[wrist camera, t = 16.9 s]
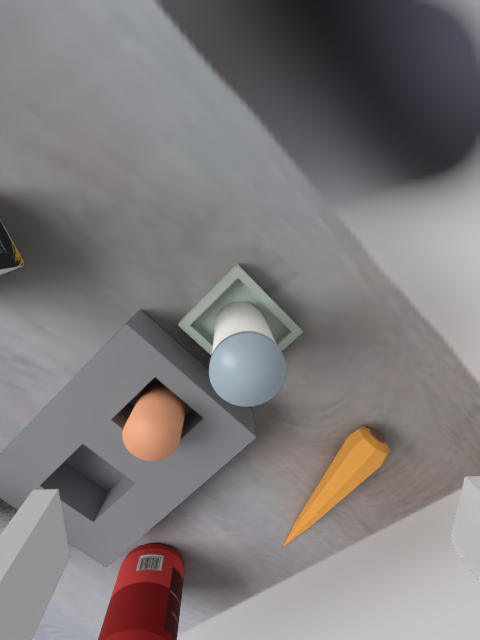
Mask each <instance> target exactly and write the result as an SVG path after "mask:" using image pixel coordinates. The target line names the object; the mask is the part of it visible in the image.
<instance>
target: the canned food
mask: <svg viewBox="0 0 480 640" xmlns="http://www.w3.org/2000/svg"><path fill="white" fill-rule="evenodd" d="M183 580H184V565H183V560H182V558H181V556H180V554H179V553H178V552H177V551H176V550H175V549H173V548H171V547H169V546H166V545H163V544H146V545H142V546H139V547H137V548H135V549H134V550H132V551H131V552H130V553H129V554H128V555H127V557H126V558H125V560H124V562H123V563H122V565H121V568H120V571H119V574H118V577H117V581H116V584H115V587H114V590H113V593H112V597H111V600H110V603H109V606H108V609H107V612H106V616H105V619H104V622H103V625H102V628H101V632H100V635H99V638H98V640H177V632H178V623H179V615H180V606H181V597H182V588H183Z"/></svg>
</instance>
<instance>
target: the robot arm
mask: <svg viewBox="0 0 480 640" xmlns="http://www.w3.org/2000/svg"><path fill="white" fill-rule="evenodd" d="M450 542H451V544H452V545H453V546H454V547H455V549H456V551H457V552H458V553H459V555H460V556H461V558H462V559H463V560H464V562H465V563H466V564H467V566H468V567H469V569H470V570H471V571H472V573H473V574H474V575H475V577H476V578H477V580H478V581H479V582H480V476H468V477H465V479H464V483H463V487H462V492H461V496H460V500H459V504H458V508H457V512H456V517H455V521H454V525H453V529H452V533H451V538H450ZM69 558H70V554H69V548H68V542H67V536H66V531H65V525H64V519H63V513H62V507H61V502H60V496H59V490H58V489H47V490H32V492H31V493H30V495H29V496H28V497H27V499H26V500H25V502H24V503H23V504H22V506H21V507H20V508H19V510H18V511H17V513H16V514H15V515H14V517H13V518H12V520H11V521H10V522H9V524H8V525H7V526H6V528H5V529H4V531H3V532H2V533H1V535H0V640H32V638H33V636H34V634H35V632H36V630H37V627H38V625H39V623H40V621H41V619H42V617H43V614H44V612H45V610H46V608H47V606H48V604H49V601H50V599H51V597H52V595H53V593H54V591H55V588H56V586H57V584H58V582H59V580H60V578H61V576H62V573H63V571H64V569H65V567H66V565H67V563H68V560H69Z"/></svg>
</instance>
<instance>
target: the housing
mask: <svg viewBox="0 0 480 640" xmlns="http://www.w3.org/2000/svg"><path fill="white" fill-rule="evenodd" d="M156 380H159V381H160V382H161V383H163V384H164V385H165V386H166V387H167V388H169V389H170V390H171V391H172V392H173V393H174V394H176V395H177V396H178V397H179V398H180V399H182V400H183V401H184V402H185V403H186V404H187V409H186V414H185V419H184V423H183V428H182V433H181V437H180V442H179V445H178V447H177V449H176V450H175V452H174V453H173V454H172V455H170V456H169V457H167V458H165V459H162V460H158V461H146V460H142V459H140V458H137V457H135V456H134V455H132V454H131V453H130V452H129V451H128V450H127V448H126V447H125V445H124V442H123V438H122V433H123V429H124V426H125V424H126V422H127V420H128V418H129V416H130V414H131V412H132V410H133V408H134V407H135V405H136V403H137V401H138V399H139V397H140V395H141V393H142V391H143V389H144V388H145V387H146V386H147V385H148V384H149V383H151V382H153V381H156ZM255 438H256V431H255V424H254V418H253V411H252V409H251V408H250V407H242V406H237V405H233V404H231V403H229V402H227V401H225V400H224V399H222V398H221V397H220V396H219V395H218V394H217V393H216V391H215V390H214V388H213V387H212V384H211V382H210V378H209V370H208V369H207V368H206V367H204V366H203V365H202V364H201V363H200V362H199V361H198V360H197V359H196V358H194V357H193V356H192V355H191V354H190V353H189V352H188V351H187V350H185V349H184V348H183V347H182V346H181V345H180V344H179V343H178V342H177V341H175V340H174V339H173V338H172V337H171V336H170V335H169V334H168V333H167V332H165V331H164V330H163V329H162V328H161V327H160V326H159V325H158V324H156V323H155V322H154V321H153V320H152V319H151V318H150V317H149V316H148V315H146V314H145V313H144V312H143V311H142V310H140V311H139V312H138V313H136V314H135V315H134V316H133V317H132V318H131V319H130V320H129V321H128V322H127V323H126V324H125V325H124V326H123V327H122V328H121V329H120V330H119V331H118V332H117V333H116V334H115V335H114V336H113V337H112V338H111V339H110V340H109V342H108V343H107V344H106V345H105V346H104V347H103V348H102V349H101V350H100V351H99V352H98V353H97V354H96V355H95V356H94V357H93V358H92V359H91V360H90V361H89V362H88V363H87V364H86V365H85V366H84V367H83V368H82V369H81V370H80V372H79V373H78V374H77V375H76V376H75V377H74V378H73V379H72V380H71V381H70V382H69V383H68V384H67V385H66V386H65V387H64V388H63V389H62V390H61V391H60V392H59V393H58V394H57V395H56V396H55V397H54V398H53V399H52V400H51V401H50V403H49V404H48V405H47V406H46V407H45V408H44V409H43V410H42V411H41V412H40V413H39V414H38V415H37V416H36V417H35V418H34V419H33V420H32V421H31V422H30V423H29V424H28V425H27V426H26V427H25V428H24V429H23V430H22V431H21V432H20V434H19V435H18V436H17V437H16V438H15V439H14V440H13V441H12V442H11V443H10V444H9V445H8V446H7V447H6V448H5V449H4V450H3V451H2V452H1V453H0V499H2V500H3V501H5V502H6V503H8V504H9V505H11V506H12V507H14V508H16V509H17V510H19V508H20V507H21V506H22V504H23V503H24V502H25V500H26V499H27V497H28V496H29V495H30V493H31V492H32V490H47V489H58V490H59V496H60V502H61V507H62V513H63V519H64V525H65V531H66V536H67V542H68V543H70V544H71V545H73V546H74V547H76V548H77V549H79V550H80V551H82V552H83V553H85V554H86V555H88V556H90V557H91V558H93V559H94V560H96V561H97V562H99V563H100V564H102V565H103V566H105V567H108V566H109V565H110V564H111V563H112V562H113V561H114V560H116V559H117V558H118V557H119V556H120V555H121V554H123V553H124V552H125V551H126V550H127V549H128V548H129V547H131V546H132V545H133V544H134V543H135V542H136V541H138V540H139V539H140V538H141V537H142V536H143V535H144V534H146V533H147V532H148V531H149V530H150V529H151V528H152V527H154V526H155V525H156V524H157V523H158V522H159V521H161V520H162V519H163V518H164V517H165V516H166V515H167V514H169V513H170V512H171V511H172V510H173V509H174V508H176V507H177V506H178V505H179V504H180V503H181V502H182V501H184V500H185V499H186V498H187V497H188V496H189V495H191V494H192V493H193V492H194V491H195V490H196V489H197V488H199V487H200V486H201V485H202V484H203V483H204V482H206V481H207V480H208V479H209V478H210V477H211V476H212V475H214V474H215V473H216V472H217V471H218V470H219V469H220V468H222V467H223V466H224V465H225V464H226V463H227V462H229V461H230V460H231V459H232V458H233V457H234V456H235V455H237V454H238V453H239V452H240V451H241V450H242V449H244V448H245V447H246V446H247V445H248V444H249V443H250V442H252V441H253V440H254V439H255Z"/></svg>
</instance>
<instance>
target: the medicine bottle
mask: <svg viewBox="0 0 480 640" xmlns="http://www.w3.org/2000/svg"><path fill="white" fill-rule="evenodd" d="M23 265H24V261H23V259H22V257H21V255H20V254H19V252H18V250H17V248H16V246H15V244H14V243H13V241H12V239H11V237H10V235H9V234H8V232H7V230H6V228H5V226H4V225H3V223H2V221H1V219H0V275H2V274H5V273H7V272H10V271H12V270H15V269H17V268H20V267H22V266H23Z"/></svg>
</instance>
